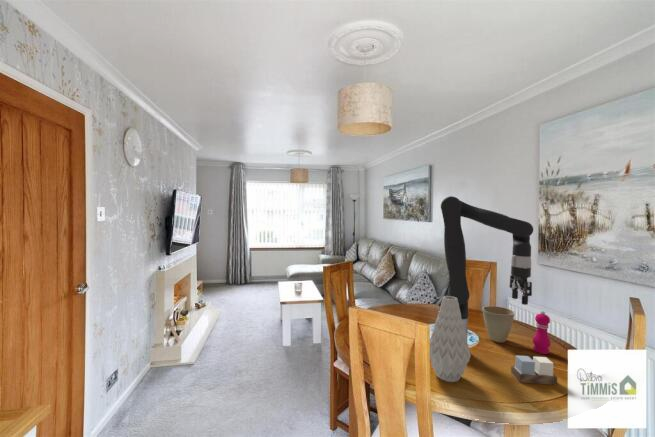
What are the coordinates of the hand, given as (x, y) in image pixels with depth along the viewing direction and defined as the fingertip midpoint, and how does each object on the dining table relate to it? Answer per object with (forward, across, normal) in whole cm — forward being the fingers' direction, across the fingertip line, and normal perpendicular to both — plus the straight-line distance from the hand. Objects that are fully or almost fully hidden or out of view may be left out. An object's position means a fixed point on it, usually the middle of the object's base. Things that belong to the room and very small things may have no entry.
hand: (519, 301), depth 138 cm
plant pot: (+28, -25, +2) cm, 38 cm away
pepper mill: (+28, -14, +18) cm, 36 cm away
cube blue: (+25, +13, -4) cm, 28 cm away
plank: (+28, +13, 0) cm, 31 cm away
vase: (+28, +16, -35) cm, 48 cm away
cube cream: (+25, +13, +4) cm, 28 cm away
